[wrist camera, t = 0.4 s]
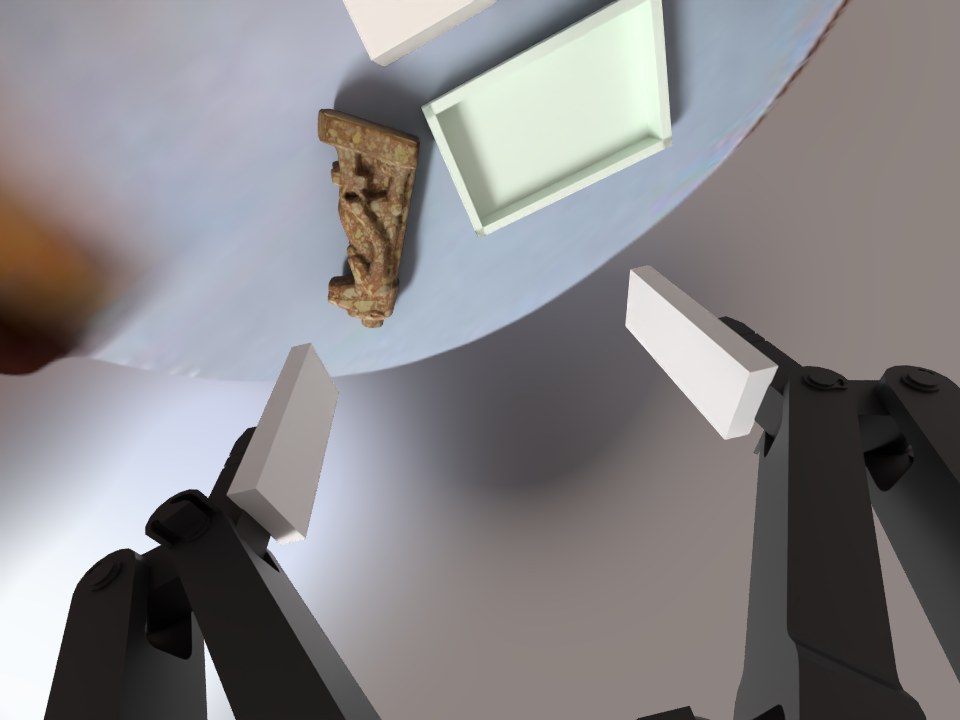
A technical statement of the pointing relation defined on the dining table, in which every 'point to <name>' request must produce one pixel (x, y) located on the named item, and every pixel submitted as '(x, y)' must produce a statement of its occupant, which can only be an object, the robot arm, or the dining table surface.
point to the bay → (407, 23)
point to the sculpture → (370, 209)
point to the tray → (557, 114)
